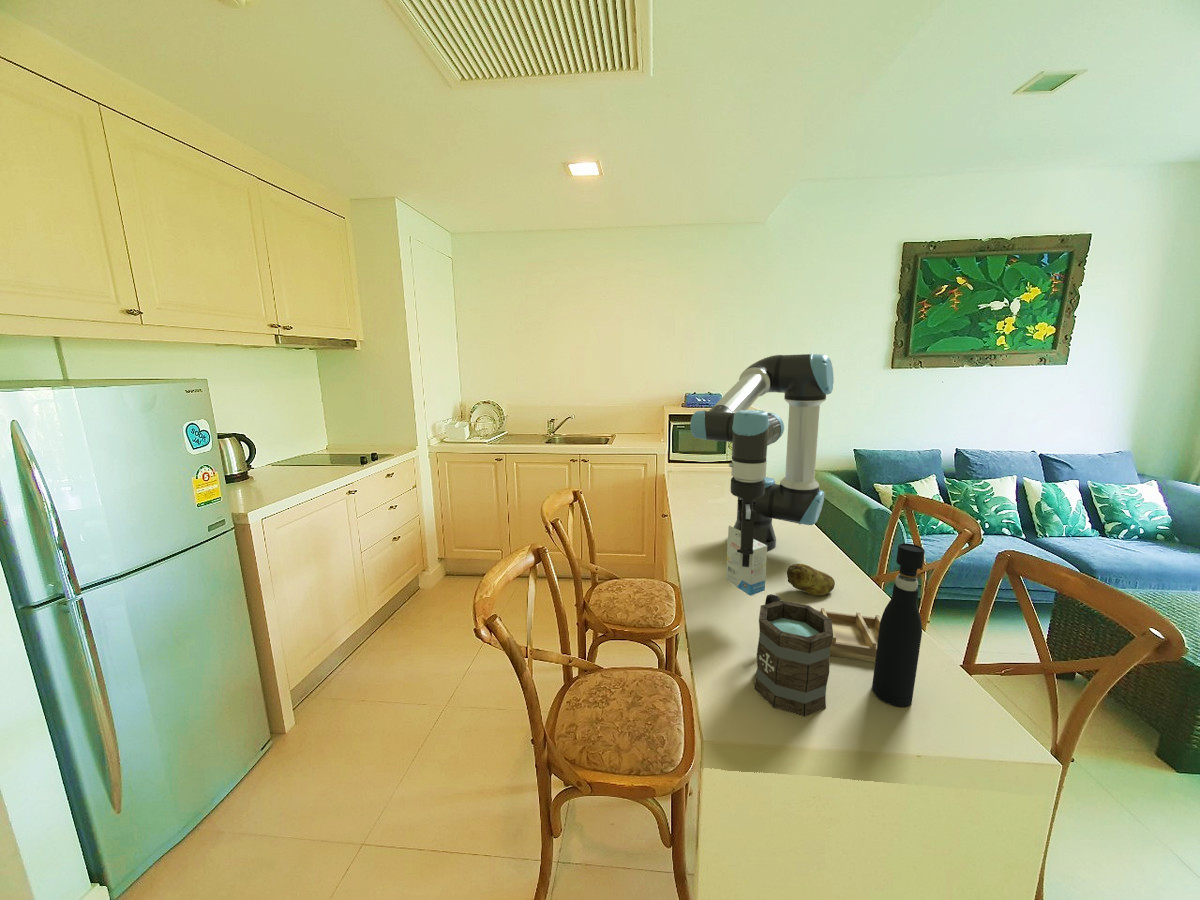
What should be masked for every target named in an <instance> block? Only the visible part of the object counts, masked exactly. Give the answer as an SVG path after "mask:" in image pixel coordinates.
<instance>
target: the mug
mask: <svg viewBox="0 0 1200 900" xmlns="http://www.w3.org/2000/svg"><path fill="white" fill-rule="evenodd" d="M819 611H820V610H819ZM819 611H817V609H815V608H813V607H812V606H811V605H808V604H803V603H797V602H792V601H787V600H781V598H780V597H779V595H776V594H772V593H771V594H767V595H766V597H765V601H764V604H762V605H760V609H759V614H758V615H759V616H758V626H759V636H758V642H757V650H756V673H755V681H754V690H755V691H756V692H757V693H758V694H759V695H760V696H761V697H762V698H763V700H765V701H766V702H767V703H768V704H769V705H770V706H771V707H772V708H773V709H777V710H779V711H784V712H788V713H790V714H793V715H796V716H797V715H798V716H801V717H803V718H805V717H808V716H810V715H812V714H815V713H817V712H820V711H823V710H825V709H827V704H826V703H827V702H826V701H827V700H826V699H827V698H826V697H827V695H826V693H827V687H828V686H827V684H828V679H829V675H830V656H831V655H830V646H831V642H832V638H833V629H832V621H831V619H830V618H828V617H827V616H825V615H823V614H822V613H820V612H819Z"/></svg>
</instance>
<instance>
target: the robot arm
mask: <svg viewBox="0 0 1200 900" xmlns="http://www.w3.org/2000/svg"><path fill="white" fill-rule="evenodd" d="M833 390H834V368H833V363H832V360H831V359H830V357H829V356H828V355H826V354H821V353H820V354H818V353H817V354H816V353H807V354H805V353H804V354H803V353H802V354H776V355H771V356H767V357H764V358H761V359H760V360H758V361H756V362H753V363H752V364H751V365H749V366H748V367H746V368H745V369H744V370H743V371H742V372H741V374H740V375H739V378H738V381H737V382H736V383H735V384H734V385H733V386H732V387H731V388H730V389H729V390H728V391H727V392H726V393H725V394H724V395H723V396H722V397H721V398H720V399H719V400H718V401H717V402H716V403H715V404H714V405H713V406H712V407H711V408H710V409H709V410H695V411H694V413H693V414H692V415H691V419H690V422H689V423H690V424H689V425H690V426H689V427H690V433H691V435H692V437H694V438H695V439H698V440H699V439H700V440H705V441H715V442H716V441H717V442H728V443H731V444H732V445H731V462H730V463H729V464H728V467H729V468H731V473H730V474H731V479H730V493H731V495H733V496H735V497H736V498H737V506H736V508H737V510H736V521H735V524H734V525H733V528H735V529H738V530H740V531H741V548H740V550H737V552H738V553H739V575H738V577H739V578H745V579H751V567H752V555H753V538H754V539H755V540H757V541H759V542H761V543H763V544H765V545H767V551H770V550H773V549H775V548H776V546H777V536H776V534H775V530H774V527H773V526H774V525H773V520H774V519H775V520H779V521H784V522H789V523H794V524H798V525H807V526H813V525H815V524H816V523H817V522H818V521H819V517H820V515H821V511H822V509H823V504H824V501H825V491H823V490H822V489H820V483H819V482H818V481H817V479H815V475H816V463H817V461H816V460H817V447H818V435H819V424H820V423H819V419H820V408H821V407H820V406H821V405H822V404H823V402H825V401H826V400H827V395H831V394H832V392H833ZM767 393H784V401H785V402H786V403H788V422H787V423H788V424H787V439H786V440H787V442H786V457H785V458H786V459H785V460H786V461H785V476H784V477H783V478H781V480H780V481H779V484H778V483H777V484H776V480H775V479H774V478H772V477H768V476H767V464H768V463H767V457H768V455H767V454H768V446H770V445H772V444H774V443H776V442H777V441H778V440H779V439H780V438H781V437H782V436H783V434H784V431H785V424H784V421H783V419H782V418H781V417H780V416H779V415H778V414H776V413H773V412H766V411H765V410H760V409H758V410H757V409H750V407H751V406H752V405H753V404H754V402H756V400H757V399H758V398H759V397H762V396H764V395H765V394H767ZM736 535H737V534H736Z"/></svg>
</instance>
